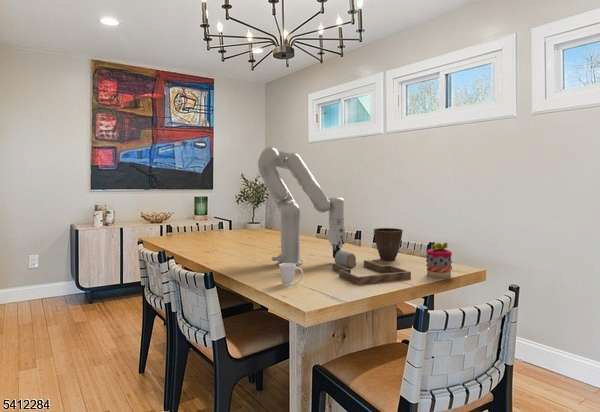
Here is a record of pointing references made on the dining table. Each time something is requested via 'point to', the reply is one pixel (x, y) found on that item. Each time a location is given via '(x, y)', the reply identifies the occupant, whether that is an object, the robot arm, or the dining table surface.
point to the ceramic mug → (345, 259)
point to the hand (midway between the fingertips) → (336, 257)
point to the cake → (439, 261)
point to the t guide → (392, 276)
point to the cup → (288, 273)
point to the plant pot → (388, 242)
